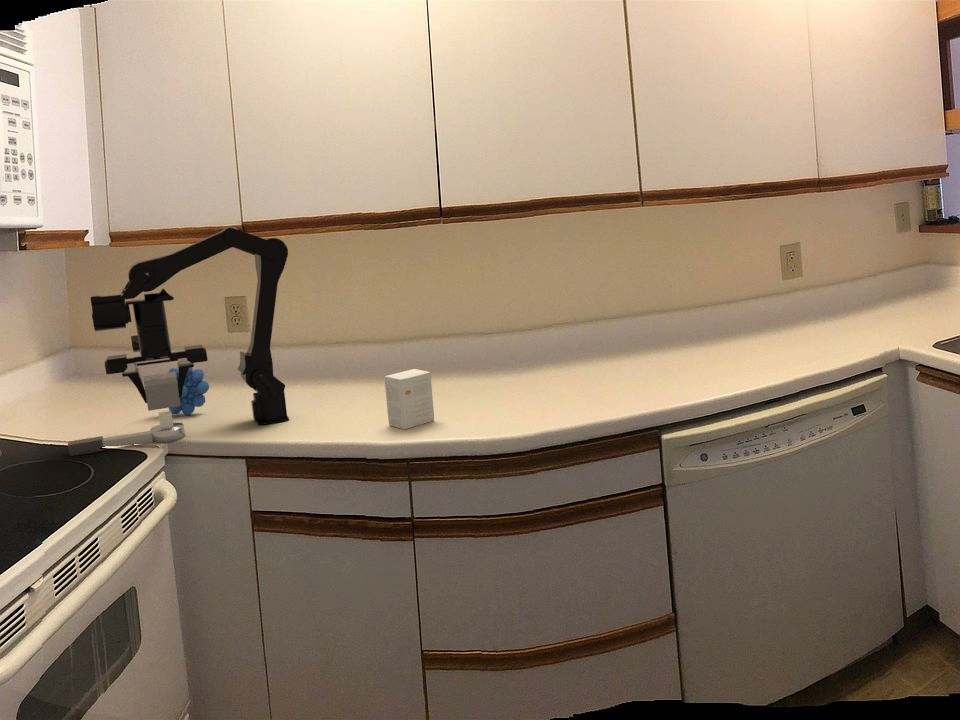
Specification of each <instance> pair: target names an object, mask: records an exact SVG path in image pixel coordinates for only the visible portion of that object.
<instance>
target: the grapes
mask: <svg viewBox="0 0 960 720" xmlns="http://www.w3.org/2000/svg"><path fill="white" fill-rule="evenodd" d="M193 369H194V367H192V368H189V370H188V373H187V375H186V378H185V382H184V387H183V392H182V397H181V398H180V405H181V406H176V407H170V408H168V411H171V414H172V415H179V414H180V413H182V414H183V415H185V416H190V415H192V414H193V413H194V411H195V408H200V407H202V406H203V405H204V404H205V403H206V396H205V395H204V394H207V392H208V391H209V390H210V384H209V382H207V380H203V379H204V378H205V373H204V370H202V369H201V368H195V369H194V370H193ZM170 372H175V374H176V379H177V385H178V367H177V368H175V367H172V368H170V369H169V370H168V371H167V373H170Z"/></svg>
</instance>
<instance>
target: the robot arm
mask: <svg viewBox="0 0 960 720" xmlns="http://www.w3.org/2000/svg"><path fill="white" fill-rule="evenodd" d="M231 248H234V249H237V250H239V251H242V252H244V253H248V254H250V255H252V256H254V264H255V270H256V277H257V282H256V283H257V284H256V290H255V291H256V293H255V301H254V309H253V316H252V317H253V318H252V326H251V335H250V342H249V346H248V348H247V350H246V352H245V351H239V364H238V365H239V366H238V367H237V370H238V371H239V372H240V377H241V379H242V380H243V381H244V382H245V383H246V385H248V386H249V387H250V388H251V389H253V391H255V392H253V393H252V396H253V399H252V400H250V401H251V402H250V403H251V411H252V412H251V413H252V419H253V420H254V422H256V423H257V425H258V426H262V425H263V426H264V425H267V424H274V423H279V422H285V421H289V420H290V417H289V416H288V412H287V403H286V396H285V395H286V393H285V389H286V384H285V383H283V382H282V380H280V379H279V378H277V377H276V376H275V375H274V366H273V365H274V364H273V363H274V362H273V357H272V351H271V344H272V343H271V341H272V335H273V328H274V327H273V326H274V319H275V309H276V308H275V307H276V299H277V292H278V286H279V284H278V283H279V281H280V278H281V276H282V274H283V272H284V269H285V266H286V263H287V259H288V258H289V257H288V256H289V249H288V248H289V247H288V246H287V244H286V243H285V242H284V241H283V240H281V239H280V238H276V237H264V238H263V237H260V236H257V235H254V234H251V233H248V232H244V231H242V230H240V229H239V228H236V227H232V226H231V227H230V226H229V227H225V228H223V229H222V230H220V231H219V232H216V233H214V234H212V235H210V236H208V237H205V238H203V239H200V240H198V241H197V242H194V243H192V244H190V245H187V246H186V247H183V248H181V249H178V250H176V251H174V252H172V253H169V254H165V255H162V256H156V257H154V258H153V257H152V258H149V259H145V260H141V261H137V262H135V263H134V264H132V265H131V266H130V267H129V269H128V272H127V278H128V281H127V283H126V284H125V286H124V288H122V289H121V292H120V294H119V293H118V294H111V295H109V294H108V295H91V296H90V302H91V303H90V304H91V311H92V312H91V318H92V323H93V324H92V325H93V329H94V332H102V331H109V330H110V331H111V330H118V329H126V328H127V325H128V324H129V323H132V315H131V310H130V305H132V308H133V315H134V322H135V327H136V335H131V336H130V339H131V346H132V351H133V353H140V354H139V355H140V356H133V357H128V355H127V354H126V353H124V354H117V355H116V354H115V355H109V356H107V357H106V358H105V361H104V369H105V374H106V375H114V374H121V377H124V378H125V377H128V379H129V380H131V382H132V383H133V385H134V386H135V388H136V389H137V390H138V393H139V394H140V396H141V398H142V400H143V401H144V403H145V404H147V399H146V393H145V387H144V381H143V379H142V376H141V373H140V369H139V367H140V366H149V365H155V364H163V363H170V362H177V369H178V392H179V398H181V397H182V392H183V387H184V382H185V378H186V375H187V373H188V370H189V368H194V367H195V365H194V364H197V363H204V362H208V361H209V359H208V353H207V349H206V347H205V346H204V345H202V344H196V345H188V346H183V347H184V348H183V349H184V350H180V351H174V352H172V346H171V345H172V344H171V340H170V332H169V328H168V327H169V326H168V319H167V315H166V308H165V302H167V301H174V299H175V298H174V296H173V295H172V294H170V293H169V292H167V291H166V289H165V288H161V290H160V291H159V292H155V293H152V291H155V289H157V288H159V287H160V286H162V285H163V284H165V283H166V282H167V281H169V280H170V279H171V278H173V277H174V276H175V275H176V274H178V273H179V272H181V271H183V270H185V269H187V268H189V267H192V266H193V265H197V264H199V263H200V262H203V261H205V260H207V259H210V258H211V257H214V256H216V255H218V254H221V253H222V252H225V251H227V250H229V249H231ZM143 292H144V294H143V298H142V299H135V298H137V297H138V296H139V295H140V294H141V293H143ZM149 292H151V293H149ZM132 299H133V300H132Z"/></svg>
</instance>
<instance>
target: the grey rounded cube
mask: <svg viewBox="0 0 960 720" xmlns="http://www.w3.org/2000/svg"><path fill="white" fill-rule="evenodd" d="M143 385H144V389H145V393H146V399H147V403H146V405H147V410H148V412H149V411H156V410H163V409H169V408H170V407H176V406H181V405H180V398H179V392H178V385H177V379H176V374H175V372H170V373H168V372H164V373H157V374H150V375H149V374H148V375H144V376H143Z"/></svg>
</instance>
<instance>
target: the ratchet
mask: <svg viewBox="0 0 960 720" xmlns="http://www.w3.org/2000/svg"><path fill="white" fill-rule="evenodd" d="M158 419H159V424H158V425H155V426H152V427H151V428H150V429H149V430H146V431H139V432H135V433H134V432H133V433H127V434H122V435H114V436H109V437H108V436H107V437H104V436H102V435H101V436H96V437H88V438H87V437H86V438H81V439H75V440H71V441H70V440H69V441H68V443H67V450H68V455H70V454H74V453H78V452H83V451H87V450H92V449H100V448H102V447H105V446H119V445H121V446H122V445H134V444H143V445H147V444H148V443H149V444H153V443H154V444H170V443H174V442H178V441H181V440H183V439H185V438H186V431H185V424H184V423H183V422H173V414H171V411H169V410H167V411H160V412H158ZM184 437H185V438H184Z"/></svg>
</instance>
